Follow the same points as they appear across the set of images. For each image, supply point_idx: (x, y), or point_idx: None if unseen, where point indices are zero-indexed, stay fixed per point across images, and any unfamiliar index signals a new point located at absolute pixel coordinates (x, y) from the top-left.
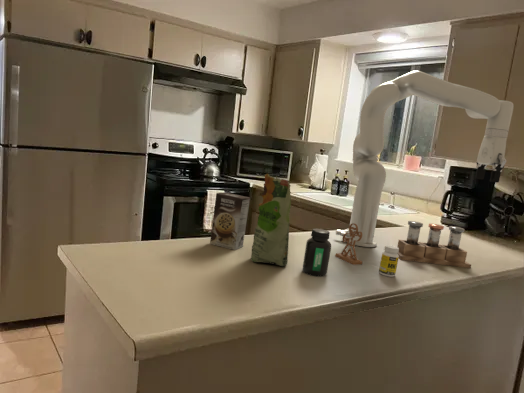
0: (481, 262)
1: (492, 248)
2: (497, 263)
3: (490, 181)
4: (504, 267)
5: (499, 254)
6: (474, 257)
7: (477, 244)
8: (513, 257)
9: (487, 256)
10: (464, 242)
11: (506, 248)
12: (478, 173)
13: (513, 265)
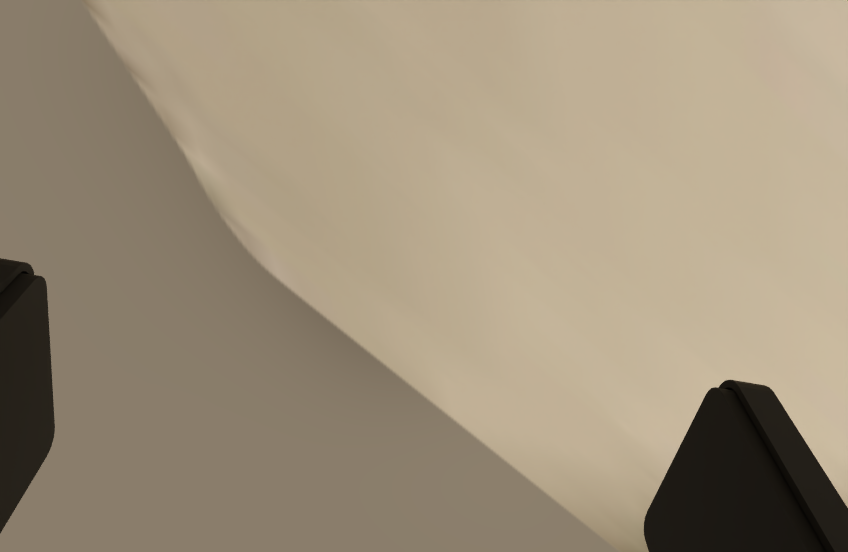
0: (289, 4)
1: None
2: (302, 148)
3: (18, 267)
4: (207, 121)
5: (548, 366)
6: (427, 59)
7: (788, 401)
8: (491, 412)
9: (479, 218)
10: (843, 334)
11: None
12: (757, 512)
13: (287, 248)
